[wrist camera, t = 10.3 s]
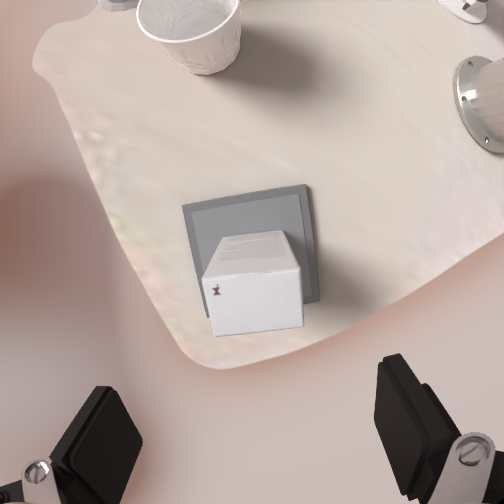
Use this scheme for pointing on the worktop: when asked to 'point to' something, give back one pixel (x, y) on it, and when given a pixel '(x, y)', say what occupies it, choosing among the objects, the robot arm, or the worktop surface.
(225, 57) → the white cup
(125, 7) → the french press
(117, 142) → the worktop surface
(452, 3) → the panda figurine
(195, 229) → the tray
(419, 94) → the worktop surface
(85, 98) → the worktop surface
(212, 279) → the skincare box
